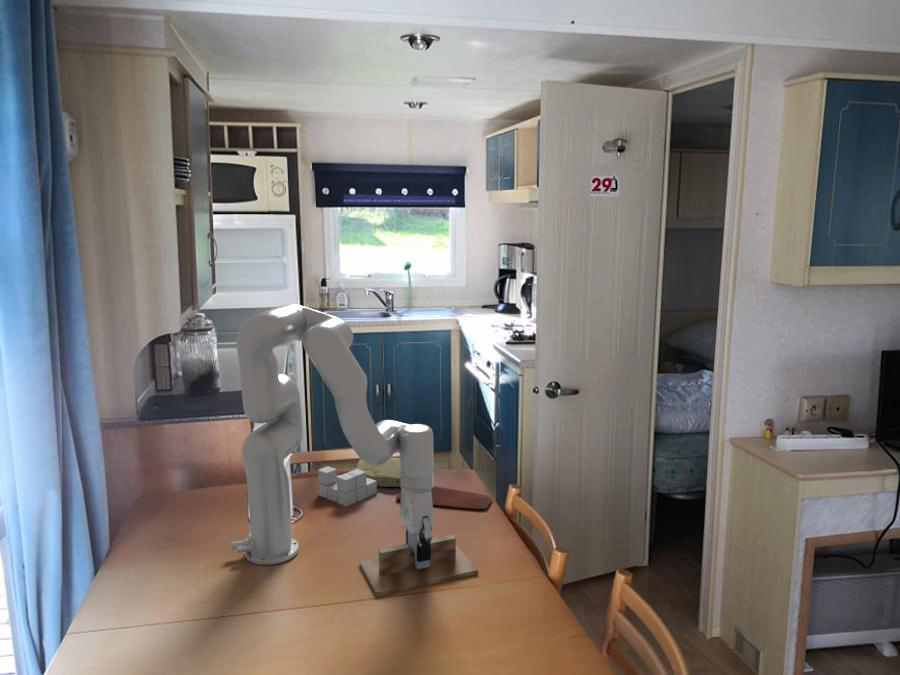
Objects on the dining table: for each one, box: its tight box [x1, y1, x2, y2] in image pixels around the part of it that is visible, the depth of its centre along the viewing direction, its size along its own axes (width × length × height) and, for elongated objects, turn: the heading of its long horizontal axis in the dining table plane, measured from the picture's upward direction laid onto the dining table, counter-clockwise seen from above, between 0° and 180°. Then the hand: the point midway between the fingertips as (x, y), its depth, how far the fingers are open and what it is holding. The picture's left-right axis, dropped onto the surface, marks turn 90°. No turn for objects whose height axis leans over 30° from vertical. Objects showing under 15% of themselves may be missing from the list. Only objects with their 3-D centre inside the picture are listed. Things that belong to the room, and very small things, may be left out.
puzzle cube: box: [317, 465, 378, 507], centre depth 198 cm, size 12×12×8 cm
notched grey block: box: [408, 528, 430, 569], centre depth 156 cm, size 7×3×8 cm, turn 22°
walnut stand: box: [359, 534, 479, 597], centre depth 157 cm, size 24×14×6 cm, turn 112°
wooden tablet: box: [395, 485, 493, 510], centre depth 194 cm, size 27×10×2 cm, turn 74°
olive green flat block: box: [355, 457, 401, 488], centre depth 210 cm, size 19×6×20 cm
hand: (418, 552), depth 156 cm, fingers closed on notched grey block, 6 cm apart
